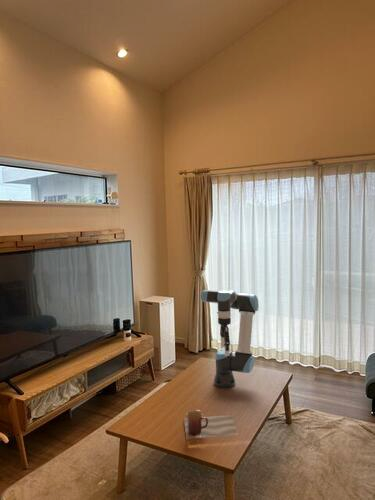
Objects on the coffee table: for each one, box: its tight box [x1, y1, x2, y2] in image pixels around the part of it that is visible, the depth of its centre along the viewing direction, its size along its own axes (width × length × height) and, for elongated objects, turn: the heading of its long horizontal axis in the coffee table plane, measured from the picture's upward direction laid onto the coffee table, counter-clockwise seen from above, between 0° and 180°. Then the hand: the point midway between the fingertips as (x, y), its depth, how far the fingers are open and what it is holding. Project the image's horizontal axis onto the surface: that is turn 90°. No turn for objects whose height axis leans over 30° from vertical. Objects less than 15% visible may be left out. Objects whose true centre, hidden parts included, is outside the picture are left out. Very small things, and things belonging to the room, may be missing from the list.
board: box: [183, 414, 239, 442], centre depth 208 cm, size 23×28×1 cm
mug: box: [185, 409, 208, 436], centre depth 200 cm, size 12×9×10 cm
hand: (225, 351), depth 223 cm, fingers open, 13 cm apart
